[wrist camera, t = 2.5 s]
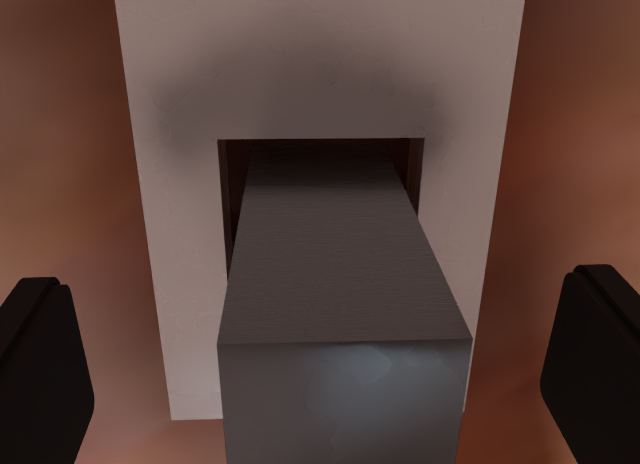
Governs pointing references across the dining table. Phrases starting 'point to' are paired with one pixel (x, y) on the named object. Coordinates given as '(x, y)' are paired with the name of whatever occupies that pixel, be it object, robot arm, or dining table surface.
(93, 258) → the dining table surface
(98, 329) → the dining table surface
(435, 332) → the steel block
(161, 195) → the grey slotted board
